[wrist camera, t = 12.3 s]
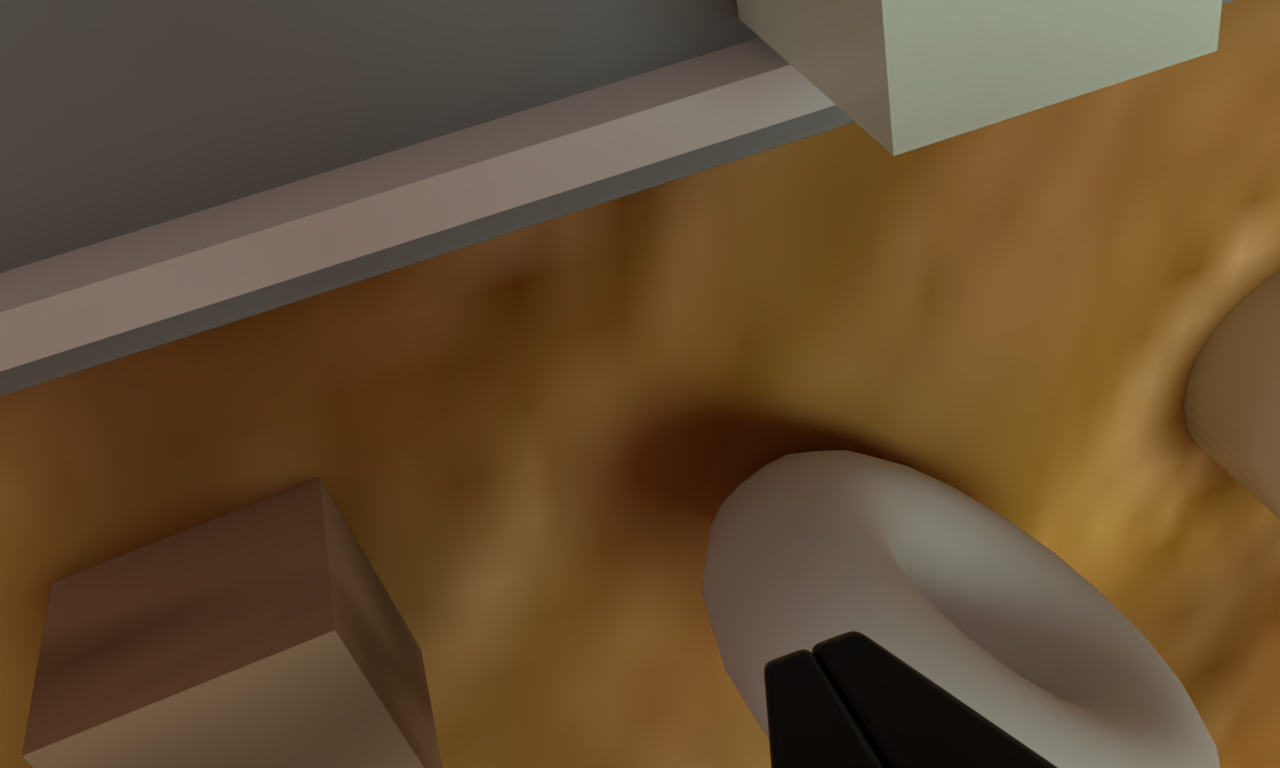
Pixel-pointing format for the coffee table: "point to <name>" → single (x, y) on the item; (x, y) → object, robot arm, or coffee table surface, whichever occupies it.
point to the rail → (334, 145)
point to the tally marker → (973, 55)
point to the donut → (940, 609)
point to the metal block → (233, 653)
